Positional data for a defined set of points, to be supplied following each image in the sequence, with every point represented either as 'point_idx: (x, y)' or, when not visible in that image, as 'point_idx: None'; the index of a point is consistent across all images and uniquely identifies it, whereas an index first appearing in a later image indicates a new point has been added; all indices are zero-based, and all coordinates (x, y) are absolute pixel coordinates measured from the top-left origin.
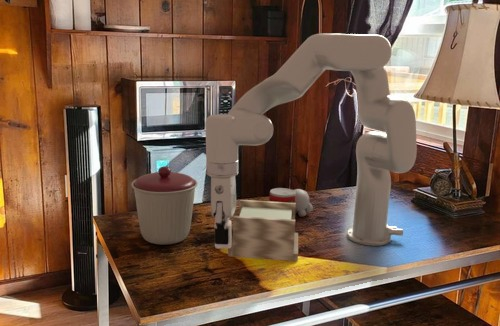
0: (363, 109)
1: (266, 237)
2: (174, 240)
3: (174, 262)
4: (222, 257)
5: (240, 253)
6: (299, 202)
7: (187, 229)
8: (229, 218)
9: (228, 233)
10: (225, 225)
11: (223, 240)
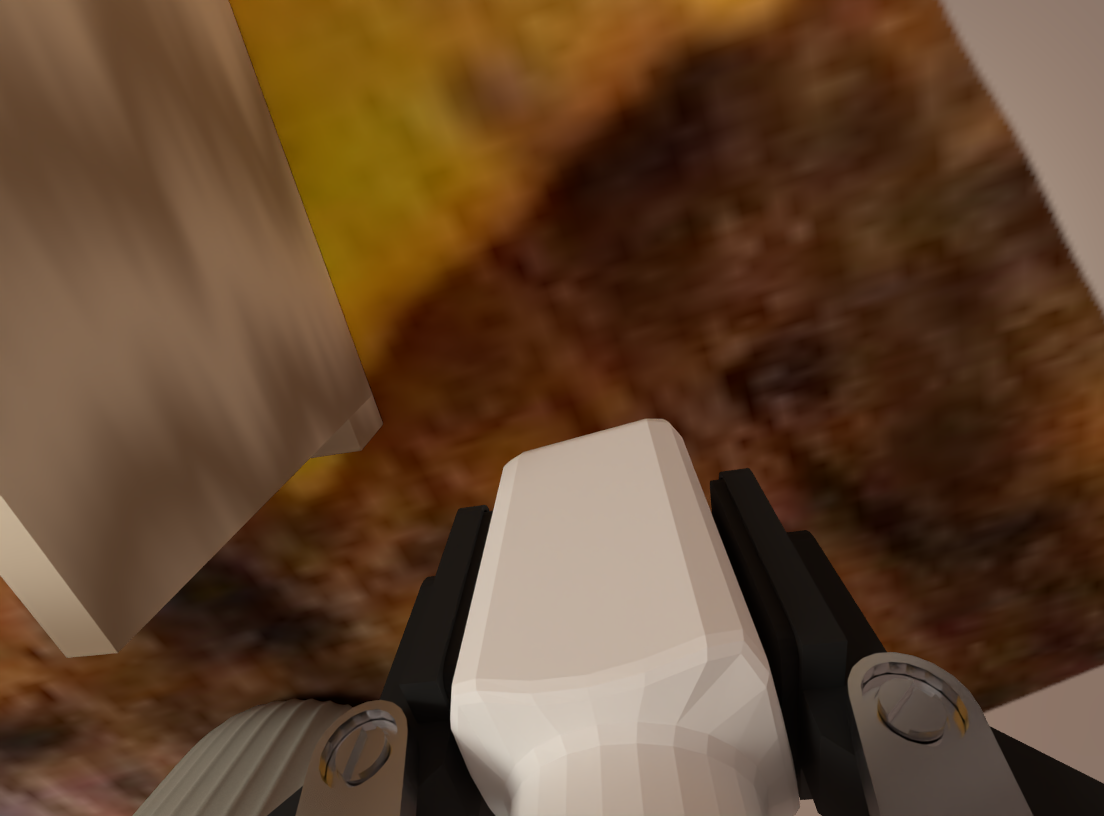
0: None
1: (90, 91)
2: None
3: None
4: (415, 450)
5: (339, 347)
6: None
7: (277, 752)
8: (408, 747)
9: (726, 560)
10: (995, 771)
11: (810, 545)
